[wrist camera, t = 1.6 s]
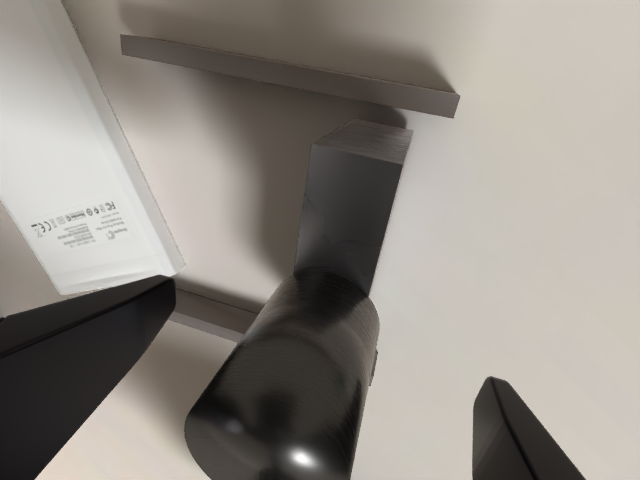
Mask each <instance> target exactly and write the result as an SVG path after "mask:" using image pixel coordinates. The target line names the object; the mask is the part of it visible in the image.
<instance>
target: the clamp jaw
mask: <svg viewBox="0 0 640 480" xmlns="http://www.w3.org/2000/svg"><path fill="white" fill-rule="evenodd" d="M412 134H413V130H409V129H404V128H399V127H394V126H389V125H384V124H379V123H374V122H369V121H364V120H359V119H353V120H351V121H349V122H348V123H346V124H344V125H343V126H341V127H339V128H338V129H336V130H334V131H333V132H331V133H330V134H328V135H326V136H325V137H323V138H321V139H320V140H318V141H316V142H315V143H313V144H311V151H310V158H309V166H308V173H307V180H306V187H305V194H304V201H303V208H302V215H301V222H300V229H299V236H298V243H297V251H296V258H295V265H294V272H293V276H290V277H289V278H287V279H286V280H284V281H283V282H282V283H281V284H280V285H279V286H278V288H277V289H276V290H275V292H274V293H273V295H272V296H271V297H270V299H269V300H268V302H267V303H266V305H265V306H264V307H263V309H262V310H261V312H260V313H259V314H258V316H257V317H256V319H255V320H254V321H253V323H252V324H251V326H250V327H249V328H248V330H247V331H246V333H245V334H244V336H243V337H242V338H241V340H240V341H239V343H238V344H237V345H236V347H235V348H234V350H233V351H232V352H231V354H230V355H229V357H228V358H227V359H226V361H225V362H224V364H223V365H222V367H221V368H220V369H219V371H218V372H217V374H216V375H215V376H214V378H213V379H212V381H211V382H210V383H209V385H208V386H207V388H206V389H205V390H204V392H203V393H202V395H201V396H200V398H199V399H198V400H197V402H196V403H195V405H194V406H193V407H192V409H191V410H190V412H189V414H188V415H187V418H186V421H185V429H184V431H185V439H186V442H187V445H188V448H189V450H190V452H191V454H192V456H193V458H194V459H195V461H196V462H197V464H198V465H199V467H200V468H201V469H202V470H203V471H204V472H205V474H206V475H207V476H208V477H209V478H210V479H211V480H350V477H351V472H352V467H353V462H354V457H355V452H356V447H357V442H358V437H359V432H360V426H361V421H362V416H363V411H364V406H365V401H366V396H367V391H368V386H369V381H370V376H371V371H372V366H373V361H374V356H375V350H376V345H377V340H378V335H379V326H380V324H379V318H378V314H377V311H376V309H375V306H374V305H373V303H372V301H371V300H370V298H369V296H370V292H371V289H372V285H373V281H374V277H375V273H376V270H377V266H378V262H379V258H380V255H381V251H382V247H383V243H384V240H385V236H386V232H387V228H388V224H389V221H390V217H391V213H392V209H393V206H394V202H395V198H396V194H397V191H398V187H399V183H400V179H401V175H402V172H403V168H404V164H405V160H406V157H407V153H408V149H409V145H410V142H411V138H412Z"/></svg>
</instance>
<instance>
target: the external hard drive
mask: <svg viewBox="0 0 640 480" xmlns="http://www.w3.org/2000/svg"><path fill="white" fill-rule="evenodd" d="M0 201H1V202H2V204H3V206H4V207H5V209H6V210H7V212H8V213H9V215H10V217H11V218H12V220H13V221H14V223H15V224H16V226H17V228H18V229H19V231H20V232H21V234H22V235H23V237H24V239H25V240H26V242H27V243H28V245H29V246H30V248H31V250H32V251H33V253H34V254H35V256H36V257H37V259H38V261H39V262H40V264H41V265H42V267H43V268H44V270H45V272H46V273H47V275H48V277H49V278H50V280H51V282H52V283H53V285H54V286H55V288H56V290H57V291H58V293H59V294H60V295H68V294H73V293H79V292H84V291H90V290H96V289H101V288H107V287H114V286H119V285H122V284H126V283H130V282H133V281H137V280H141V279H144V278H148V277H152V276H155V275H165V276H168V277H170V276H173V275H175V274H177V273H178V272H179V271H181V270H182V269H183V268H184V267H186V264H185V262H184V260H183V258H182V256H181V253H180V251H179V249H178V247H177V245H176V243H175V241H174V239H173V237H172V234H171V232H170V230H169V228H168V226H167V224H166V222H165V220H164V217H163V215H162V213H161V211H160V209H159V207H158V205H157V203H156V200H155V198H154V196H153V194H152V192H151V190H150V188H149V186H148V183H147V181H146V179H145V177H144V175H143V173H142V171H141V169H140V166H139V164H138V162H137V160H136V158H135V156H134V154H133V152H132V150H131V147H130V145H129V143H128V141H127V139H126V137H125V135H124V133H123V130H122V128H121V126H120V124H119V122H118V120H117V118H116V116H115V114H114V111H113V109H112V107H111V105H110V103H109V101H108V99H107V97H106V94H105V92H104V90H103V88H102V86H101V84H100V82H99V79H98V77H97V75H96V73H95V71H94V69H93V67H92V65H91V62H90V60H89V58H88V56H87V54H86V52H85V50H84V48H83V46H82V44H81V42H80V39H79V37H78V35H77V33H76V31H75V29H74V27H73V24H72V22H71V20H70V18H69V16H68V14H67V12H66V10H65V7H64V5H63V3H62V1H61V0H0Z"/></svg>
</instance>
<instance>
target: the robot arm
mask: <svg viewBox="0 0 640 480" xmlns="http://www.w3.org/2000/svg"><path fill="white" fill-rule="evenodd" d="M175 306H176V283H175V280H174V279H173V278H171V277H168V276H165V275H155V276H152V277H148V278H144V279H141V280H137V281H133V282H130V283H126V284H122V285H119V286H115V287H111V288H108V289H104V290H100V291H97V292H93V293H89V294H86V295H82V296H79V297H75V298H71V299H68V300H64V301H60V302H57V303H53V304H49V305H46V306H42V307H38V308H35V309H31V310H27V311H24V312H20V313H16V314H13V315H9V316H7V317H6V318H4V317H1V318H0V480H34V479H35V478H36V477H37V476H38V475H39V474H40V473H41V471H42V470H43V469H44V468H45V467H46V466H47V465H48V463H49V462H50V461H51V460H52V459H53V458H54V456H55V455H56V454H57V453H58V452H59V451H60V450H61V448H62V447H63V446H64V445H65V444H66V443H67V442H68V440H69V439H70V438H71V437H72V436H73V435H74V433H75V432H76V431H77V430H78V429H79V428H80V427H81V425H82V424H83V423H84V422H85V421H86V420H87V419H88V417H89V416H90V415H91V414H92V413H93V412H94V410H95V409H96V408H97V407H98V406H99V405H100V404H101V402H102V401H103V400H104V399H105V398H106V397H107V396H108V394H109V393H110V392H111V391H112V390H113V389H114V387H115V386H116V385H117V384H118V383H119V382H120V381H121V379H122V378H123V377H124V376H125V375H126V374H127V373H128V371H129V370H130V369H131V368H132V367H133V366H134V364H135V363H136V362H137V361H138V360H139V358H140V357H141V356H142V355H143V353H144V352H145V351H146V349H147V348H148V347H149V345H150V344H151V342H152V341H153V340H154V338H155V337H156V335H157V334H158V332H159V331H160V330H161V328H162V327H163V325H164V324H165V323H166V321H167V320H168V318H169V317H170V315H171V314H172V313H173V311H174V309H175ZM472 476H473V480H586V479H585V478H584V477H583V475H582V474H581V473H580V472H579V470H578V469H577V468H576V467H575V465H574V464H573V463H572V462H571V460H570V459H569V458H568V457H567V455H566V454H565V453H564V452H563V450H562V449H561V448H560V446H559V445H558V444H557V443H556V441H555V440H554V439H553V438H552V436H551V435H550V434H549V433H548V431H547V430H546V429H545V428H544V426H543V425H542V424H541V423H540V421H539V420H538V419H537V418H536V416H535V415H534V414H533V413H532V411H531V410H530V409H529V408H528V406H527V405H526V404H525V403H524V401H523V400H522V399H521V398H520V396H519V395H518V394H517V392H516V391H515V390H514V389H513V387H512V386H511V385H510V384H509V383H508V382H507V381H505V380H502V379H499V378H495V377H492V376H490V377H488V378H486V380H485V382H484V384H483V385H482V387H481V389H480V391H479V393H478V395H477V397H476V399H475V402H474V408H473V454H472Z"/></svg>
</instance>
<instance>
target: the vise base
mask: <svg viewBox="0 0 640 480" xmlns="http://www.w3.org/2000/svg"><path fill="white" fill-rule="evenodd" d="M120 37H121V48H122V55H127V56H132V57H137V58H142V59H148V60H153V61H158V62H163V63H168V64H174V65H179V66H184V67H189V68H194V69H199V70H205V71H210V72H215V73H220V74H225V75H231V76H236V77H241V78H246V79H251V80H256V81H262V82H267V83H272V84H277V85H282V86H288V87H293V88H298V89H303V90H308V91H313V92H319V93H324V94H329V95H334V96H339V97H345V98H350V99H355V100H360V101H365V102H371V103H376V104H381V105H386V106H391V107H396V108H402V109H407V110H412V111H417V112H422V113H428V114H433V115H438V116H443V117H448V118H454V115H455V112H456V108H457V105H458V102H459V99H460V95H458V94H457V93H452V92H447V91H441V90H435V89H430V88H424V87H419V86H413V85H408V84H402V83H397V82H391V81H386V80H380V79H375V78H369V77H364V76H358V75H352V74H347V73H341V72H336V71H330V70H325V69H319V68H314V67H308V66H303V65H297V64H292V63H286V62H281V61H275V60H269V59H264V58H258V57H253V56H247V55H242V54H236V53H231V52H225V51H220V50H214V49H209V48H203V47H198V46H192V45H187V44H181V43H175V42H170V41H164V40H159V39H153V38H146V37H138V36H130V35H122V34H120ZM257 316H258V314H255V313H252V312H249V311H246V310H243V309H239V308H236V307H233V306H230V305H227V304H223V303H220V302H217V301H214V300H211V299H208V298H204V297H201V296H198V295H195V294H192V293H188V292H185V291H182V290H179V289H176V306H175V309H174V311H173V313H172V314H171V315H170V317H169V318H168V319H169V320H172V321H175V322H178V323H181V324H184V325H187V326H190V327H193V328H196V329H199V330H202V331H205V332H208V333H211V334H214V335H217V336H220V337H223V338H226V339H229V340H232V341H235V342H238V343H239V341H240V340H241V338H242V337H243V336H244V334H245V333H246V331H247V330H248V328H249V327H250V326H251V324H252V323H253V321H254V320H255V319H256V317H257ZM377 354H378V352H376V351H375V356H374V361H373V366H372V371H371V376H370V381H369V386H371V382H372V379H373V376H374V370H375V365H376V360H377Z"/></svg>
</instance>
